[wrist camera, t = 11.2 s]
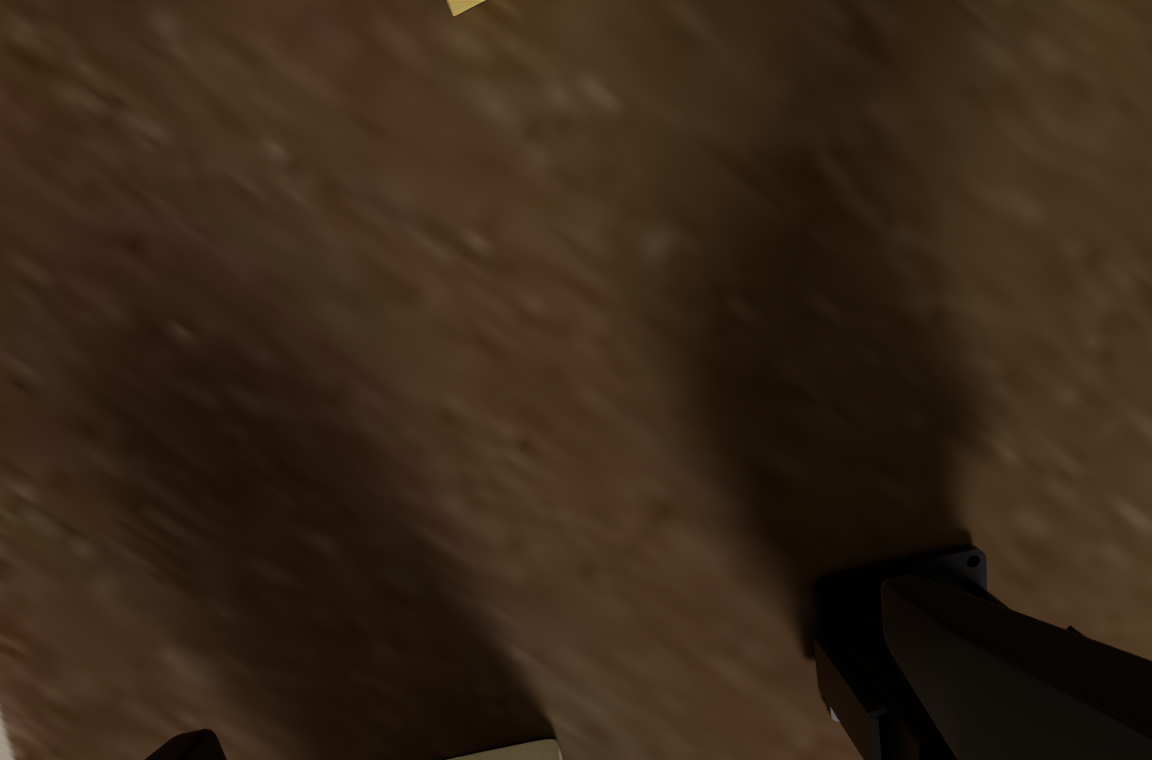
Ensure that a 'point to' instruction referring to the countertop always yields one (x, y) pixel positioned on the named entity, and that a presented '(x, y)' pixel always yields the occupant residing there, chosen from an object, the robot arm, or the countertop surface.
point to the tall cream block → (520, 752)
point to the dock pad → (461, 5)
